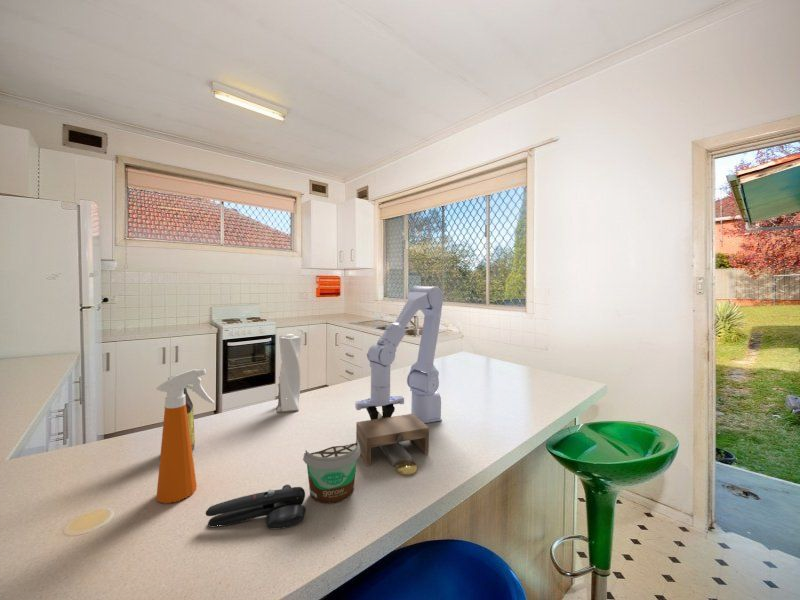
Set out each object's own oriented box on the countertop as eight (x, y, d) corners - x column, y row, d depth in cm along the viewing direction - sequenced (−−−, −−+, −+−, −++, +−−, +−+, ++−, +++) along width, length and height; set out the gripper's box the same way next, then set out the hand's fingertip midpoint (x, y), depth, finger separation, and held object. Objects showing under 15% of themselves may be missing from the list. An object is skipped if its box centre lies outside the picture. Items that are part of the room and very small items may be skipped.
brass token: (412, 463, 84) (412, 458, 84) (420, 474, 79) (420, 469, 79) (393, 466, 82) (393, 461, 82) (400, 478, 78) (400, 473, 78)
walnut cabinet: (412, 437, 98) (413, 413, 97) (429, 454, 88) (430, 428, 87) (356, 447, 91) (356, 422, 91) (367, 467, 81) (368, 439, 81)
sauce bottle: (200, 448, 89) (199, 375, 88) (178, 459, 83) (176, 381, 82) (182, 444, 91) (181, 372, 90) (159, 455, 86) (157, 378, 85)
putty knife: (382, 426, 105) (382, 410, 104) (411, 462, 84) (412, 443, 84) (366, 428, 103) (366, 412, 102) (393, 466, 82) (393, 446, 82)
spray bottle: (211, 497, 69) (209, 372, 68) (150, 507, 66) (147, 375, 65) (219, 478, 76) (218, 364, 74) (164, 486, 73) (161, 366, 71)
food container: (309, 515, 64) (309, 464, 64) (302, 496, 70) (303, 450, 69) (368, 497, 70) (369, 450, 70) (358, 481, 76) (358, 438, 75)
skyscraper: (302, 403, 123) (302, 328, 122) (303, 411, 115) (303, 331, 114) (277, 405, 120) (277, 328, 119) (277, 414, 113) (276, 332, 111)
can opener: (307, 504, 68) (308, 477, 68) (304, 528, 61) (304, 499, 61) (214, 513, 65) (213, 485, 65) (199, 540, 58) (198, 509, 58)
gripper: (398, 378, 105) (397, 421, 105) (352, 383, 99) (352, 428, 100) (407, 385, 98) (406, 430, 99) (359, 390, 93) (358, 438, 93)
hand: (379, 430), depth 99 cm, fingers closed on putty knife, 2 cm apart
